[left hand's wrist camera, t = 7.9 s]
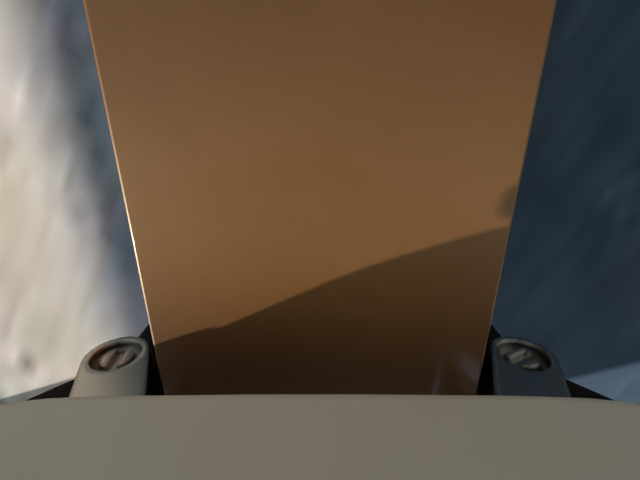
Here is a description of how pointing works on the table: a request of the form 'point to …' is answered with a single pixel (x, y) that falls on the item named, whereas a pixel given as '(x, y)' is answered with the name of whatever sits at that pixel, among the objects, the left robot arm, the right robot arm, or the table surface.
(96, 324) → the table surface
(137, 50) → the bar
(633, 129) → the table surface
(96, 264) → the table surface
